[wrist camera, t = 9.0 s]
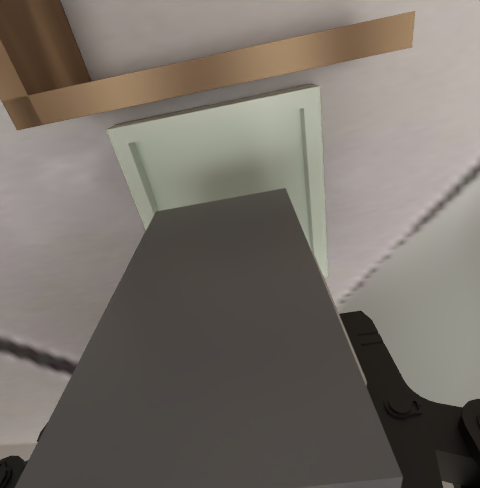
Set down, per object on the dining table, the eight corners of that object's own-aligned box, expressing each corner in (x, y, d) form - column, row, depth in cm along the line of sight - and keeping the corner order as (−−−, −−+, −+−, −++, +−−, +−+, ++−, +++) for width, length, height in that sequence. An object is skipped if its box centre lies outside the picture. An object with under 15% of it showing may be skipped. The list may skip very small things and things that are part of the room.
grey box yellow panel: (199, 332, 18) (159, 648, 8) (155, 211, 14) (-20, 554, 4) (300, 317, 18) (382, 634, 8) (285, 188, 14) (417, 514, 4)
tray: (176, 287, 27) (173, 301, 26) (115, 124, 20) (106, 129, 19) (322, 263, 26) (328, 276, 25) (312, 83, 19) (319, 85, 18)
